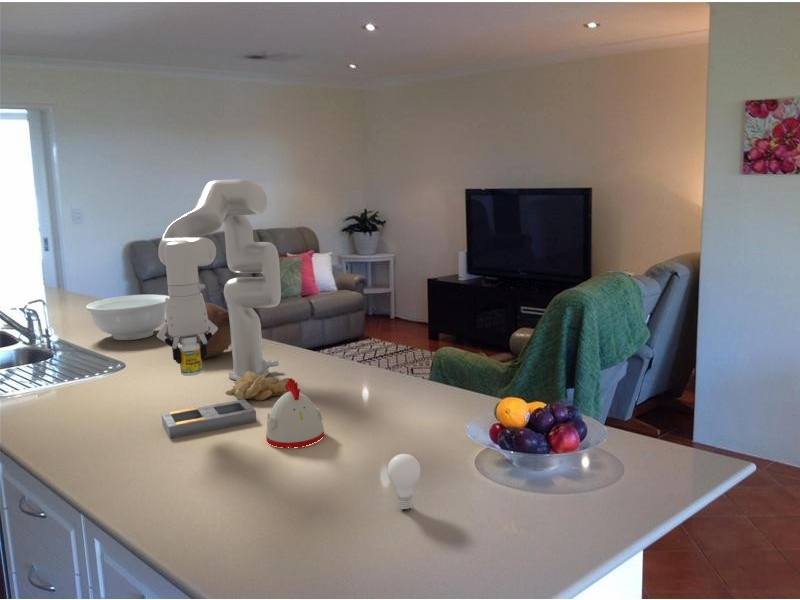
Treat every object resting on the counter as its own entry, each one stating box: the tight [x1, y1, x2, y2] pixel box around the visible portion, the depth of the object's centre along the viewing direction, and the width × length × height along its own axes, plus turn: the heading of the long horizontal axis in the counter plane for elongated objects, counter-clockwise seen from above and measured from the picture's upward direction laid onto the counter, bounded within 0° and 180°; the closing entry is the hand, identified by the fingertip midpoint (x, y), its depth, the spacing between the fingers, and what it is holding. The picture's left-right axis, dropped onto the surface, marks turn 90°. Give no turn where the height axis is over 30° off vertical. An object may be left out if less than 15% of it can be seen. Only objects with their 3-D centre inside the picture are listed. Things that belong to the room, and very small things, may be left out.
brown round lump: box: [178, 301, 232, 359], centre depth 261 cm, size 20×20×30 cm
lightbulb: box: [386, 453, 422, 510], centre depth 138 cm, size 6×6×11 cm
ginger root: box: [225, 371, 290, 401], centre depth 210 cm, size 16×16×8 cm
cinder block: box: [160, 399, 257, 439], centre depth 190 cm, size 22×11×3 cm, turn 117°
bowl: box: [85, 294, 169, 341], centre depth 294 cm, size 32×32×15 cm
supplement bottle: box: [178, 335, 204, 377], centre depth 185 cm, size 5×5×10 cm
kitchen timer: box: [265, 377, 325, 448], centre depth 177 cm, size 14×14×15 cm
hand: (190, 359), depth 185 cm, fingers closed on supplement bottle, 5 cm apart
